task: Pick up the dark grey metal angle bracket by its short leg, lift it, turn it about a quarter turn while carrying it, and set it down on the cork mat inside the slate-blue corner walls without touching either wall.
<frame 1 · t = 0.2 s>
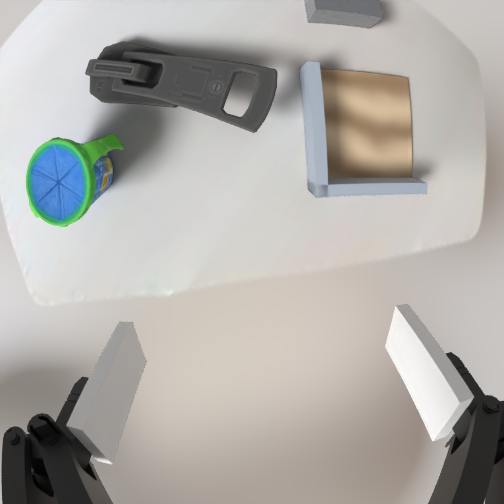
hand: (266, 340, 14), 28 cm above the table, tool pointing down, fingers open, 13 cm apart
corner walls: (365, 124, 35), resting in cork mat
zipper pull: (177, 83, 32), on the table
snack cup: (94, 170, 36), on the table
cork mat: (365, 124, 35), on the table
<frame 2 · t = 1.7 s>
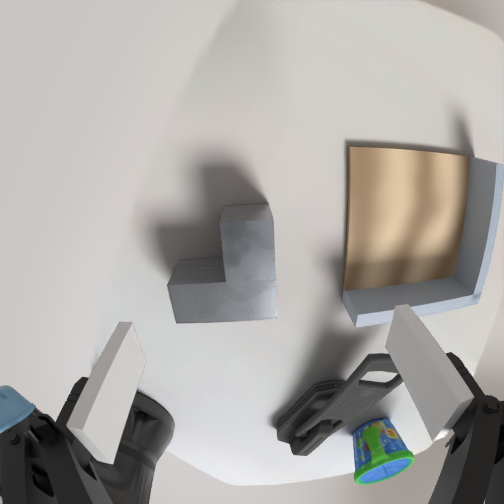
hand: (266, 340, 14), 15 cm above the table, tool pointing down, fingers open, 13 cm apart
corner walls: (412, 219, 27), resting in cork mat
angle bracket: (226, 275, 29), on the table
zipper pull: (331, 389, 37), on the table
snack cup: (371, 427, 42), on the table
cork mat: (412, 219, 27), on the table
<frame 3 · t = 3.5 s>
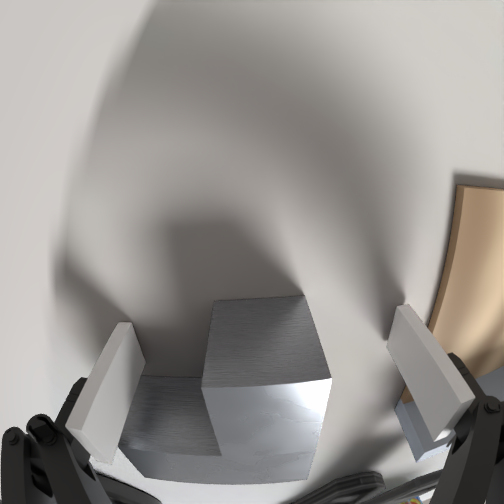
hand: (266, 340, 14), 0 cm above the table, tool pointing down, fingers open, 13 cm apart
angle bracket: (221, 398, 15), on the table
zipper pull: (354, 478, 23), on the table
snack cup: (391, 494, 29), on the table
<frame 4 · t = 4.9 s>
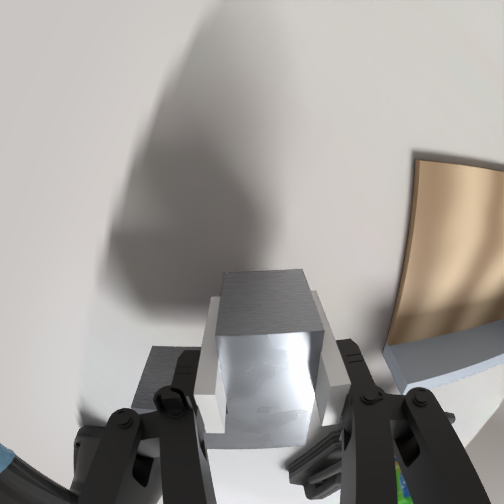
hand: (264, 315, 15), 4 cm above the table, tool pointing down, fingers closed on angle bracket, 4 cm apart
corner walls: (475, 256, 18), resting in cork mat
angle bracket: (226, 369, 18), point 4 cm above the table, touching gripper
zipper pull: (350, 434, 28), on the table
snack cup: (388, 464, 34), on the table
cork mat: (475, 256, 18), on the table
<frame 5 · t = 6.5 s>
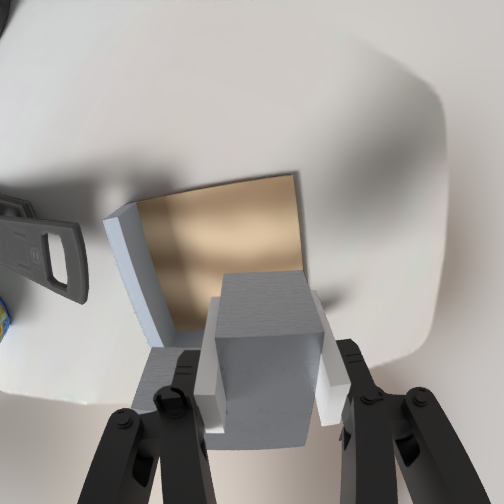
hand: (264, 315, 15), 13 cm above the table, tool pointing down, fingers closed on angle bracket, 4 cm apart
corner walls: (226, 261, 29), resting in cork mat
angle bracket: (226, 369, 18), point 13 cm above the table, touching gripper
zipper pull: (28, 227, 27), on the table
cork mat: (226, 261, 29), on the table
when the fingers open (1 cm above the table, at t = 8.2 s): angle bracket stays where it is, resting on cork mat.
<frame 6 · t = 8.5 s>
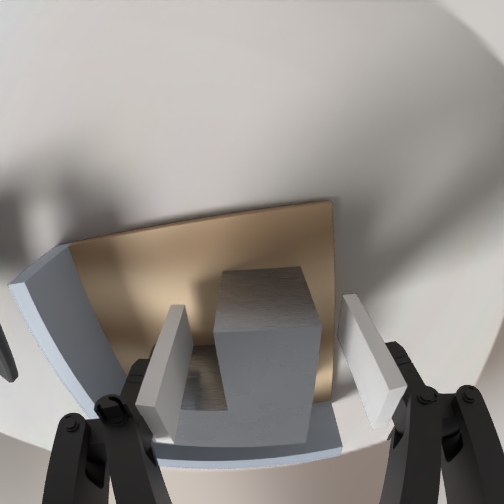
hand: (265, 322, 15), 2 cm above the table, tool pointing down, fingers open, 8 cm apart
corner walls: (215, 337, 17), resting in cork mat
angle bracket: (227, 367, 18), point 1 cm above the table, touching cork mat
cork mat: (215, 337, 17), on the table
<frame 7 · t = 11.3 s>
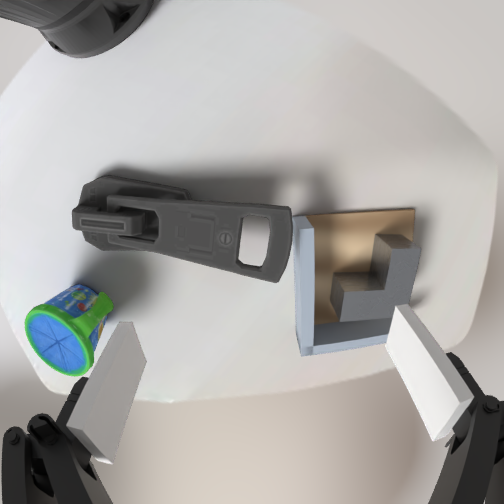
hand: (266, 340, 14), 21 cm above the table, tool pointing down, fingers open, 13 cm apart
corner walls: (360, 268, 36), resting in cork mat
angle bracket: (363, 285, 36), point 1 cm above the table, touching cork mat
zipper pull: (177, 216, 33), on the table
snack cup: (87, 304, 38), on the table
cork mat: (360, 268, 36), on the table
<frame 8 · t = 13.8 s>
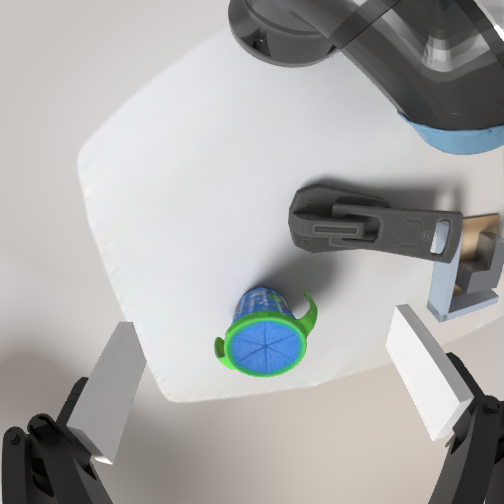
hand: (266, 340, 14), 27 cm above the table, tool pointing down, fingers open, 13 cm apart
corner walls: (468, 256, 42), resting in cork mat
angle bracket: (469, 268, 42), point 1 cm above the table, touching cork mat
zipper pull: (372, 219, 39), on the table
snack cup: (262, 305, 45), on the table
cork mat: (468, 256, 42), on the table
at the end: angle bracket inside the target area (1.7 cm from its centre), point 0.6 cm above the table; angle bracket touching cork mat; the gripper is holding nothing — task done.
